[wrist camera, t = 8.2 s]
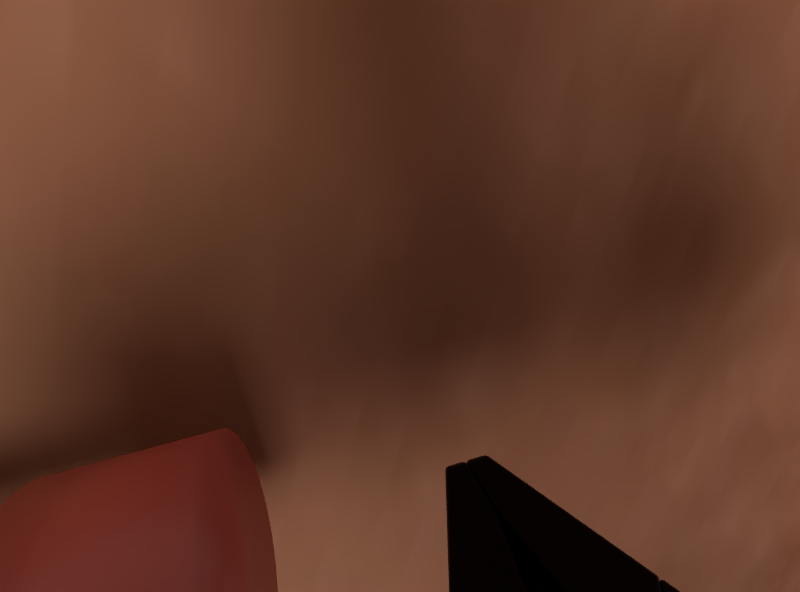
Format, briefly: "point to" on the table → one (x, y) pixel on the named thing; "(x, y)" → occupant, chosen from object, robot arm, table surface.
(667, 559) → the table surface
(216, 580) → the red knob
